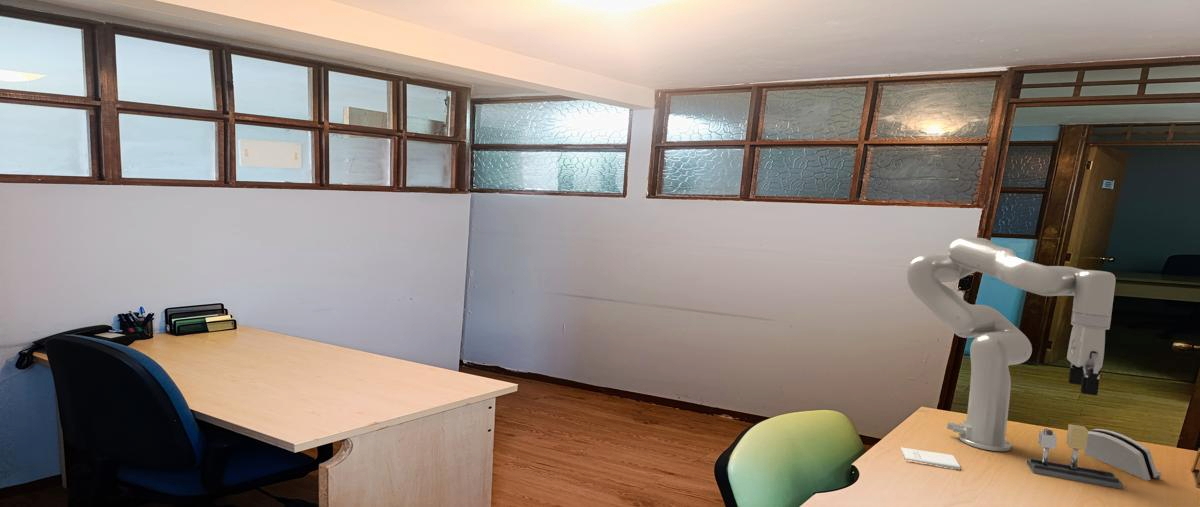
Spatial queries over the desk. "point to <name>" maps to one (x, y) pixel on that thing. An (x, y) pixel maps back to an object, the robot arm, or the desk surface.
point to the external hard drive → (931, 458)
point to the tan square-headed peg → (1076, 441)
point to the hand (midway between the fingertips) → (1082, 388)
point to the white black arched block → (1121, 453)
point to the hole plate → (1068, 466)
